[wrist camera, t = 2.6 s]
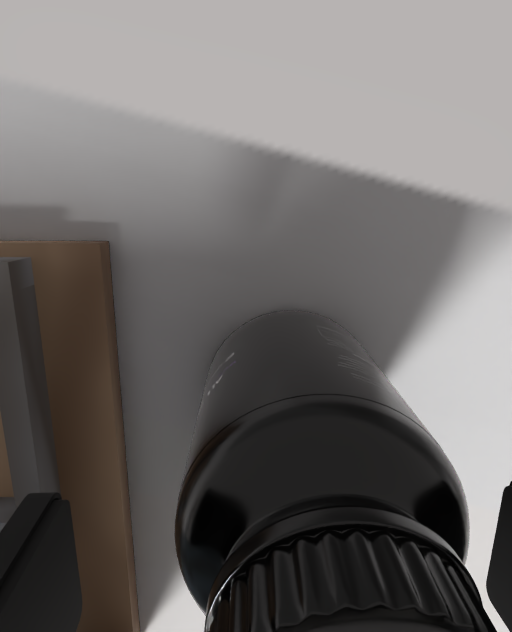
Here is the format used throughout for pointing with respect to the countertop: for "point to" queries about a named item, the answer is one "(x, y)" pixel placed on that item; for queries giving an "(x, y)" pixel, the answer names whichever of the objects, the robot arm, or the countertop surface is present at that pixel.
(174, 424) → the countertop surface
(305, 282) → the countertop surface
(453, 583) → the supplement bottle
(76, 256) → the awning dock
